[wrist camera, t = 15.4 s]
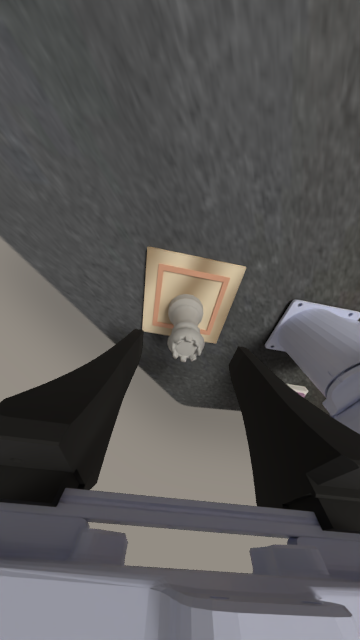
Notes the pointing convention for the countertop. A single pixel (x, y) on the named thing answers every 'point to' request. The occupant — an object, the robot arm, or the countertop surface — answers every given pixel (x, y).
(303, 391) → the ink pad
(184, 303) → the rook chess piece
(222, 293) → the marked board
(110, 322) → the countertop surface
